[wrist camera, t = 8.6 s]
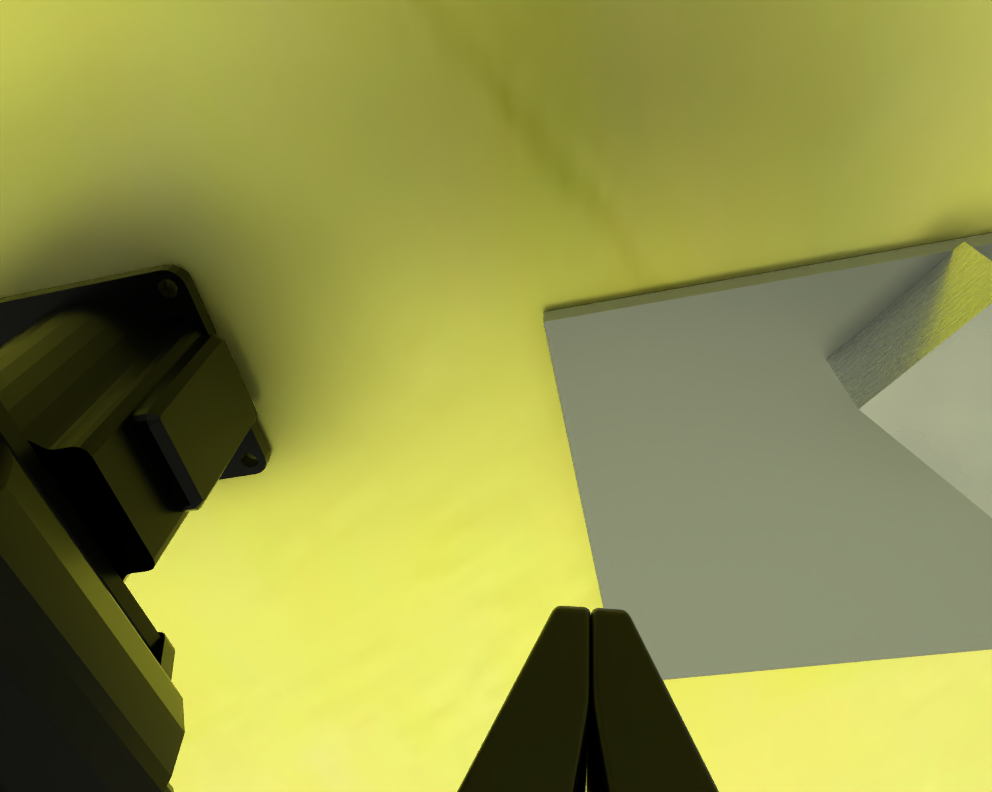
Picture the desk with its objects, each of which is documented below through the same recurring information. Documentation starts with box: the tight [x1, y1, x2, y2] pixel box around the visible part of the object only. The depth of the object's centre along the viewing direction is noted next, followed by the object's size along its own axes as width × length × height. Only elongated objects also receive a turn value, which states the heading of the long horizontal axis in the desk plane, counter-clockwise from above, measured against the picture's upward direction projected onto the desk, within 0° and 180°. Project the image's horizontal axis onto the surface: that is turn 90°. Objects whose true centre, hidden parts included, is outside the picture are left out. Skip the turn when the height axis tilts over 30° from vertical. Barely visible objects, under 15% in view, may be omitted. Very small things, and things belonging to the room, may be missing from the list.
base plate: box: [544, 233, 992, 680], centre depth 20 cm, size 18×14×3 cm
